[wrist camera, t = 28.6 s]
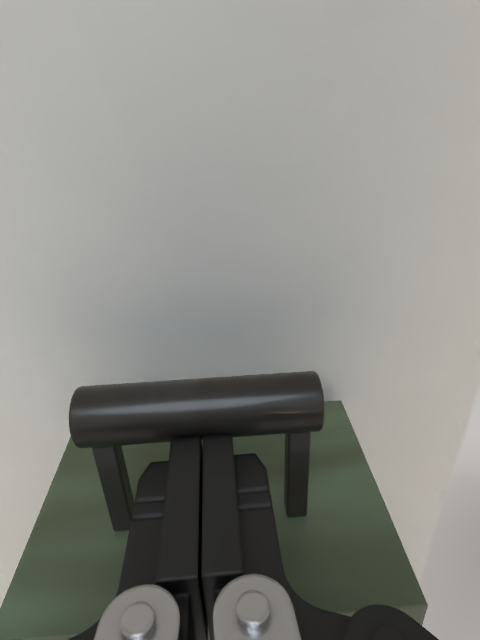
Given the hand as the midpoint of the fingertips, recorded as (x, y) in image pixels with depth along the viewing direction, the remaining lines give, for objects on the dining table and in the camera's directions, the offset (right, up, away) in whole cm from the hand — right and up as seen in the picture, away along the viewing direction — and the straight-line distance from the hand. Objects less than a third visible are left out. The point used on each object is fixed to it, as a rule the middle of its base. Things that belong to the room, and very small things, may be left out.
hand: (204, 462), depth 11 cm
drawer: (0, -5, +9) cm, 10 cm away
